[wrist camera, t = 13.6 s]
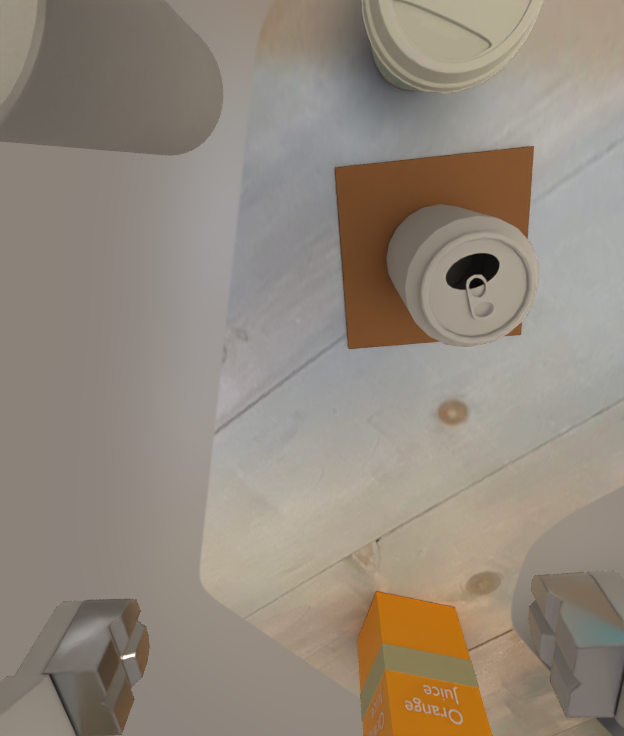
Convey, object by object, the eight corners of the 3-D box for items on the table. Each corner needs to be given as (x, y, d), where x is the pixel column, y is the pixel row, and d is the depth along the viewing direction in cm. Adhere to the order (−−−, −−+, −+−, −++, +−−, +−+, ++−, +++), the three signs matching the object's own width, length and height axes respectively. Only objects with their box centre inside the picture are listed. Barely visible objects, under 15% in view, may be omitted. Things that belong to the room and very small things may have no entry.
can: (471, 188, 35) (538, 196, 24) (493, 284, 38) (562, 332, 27) (372, 224, 36) (392, 248, 25) (400, 315, 39) (429, 373, 28)
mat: (348, 347, 40) (348, 349, 40) (334, 167, 35) (335, 167, 35) (519, 333, 40) (521, 334, 39) (531, 146, 34) (534, 146, 34)
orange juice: (432, 655, 54) (486, 908, 36) (356, 640, 54) (371, 889, 35) (456, 606, 51) (529, 854, 33) (376, 589, 51) (404, 832, 32)
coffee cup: (325, 27, 32) (324, -48, 21) (436, -74, 30) (502, -218, 19) (397, 141, 34) (430, 127, 23) (504, 55, 32) (598, -4, 21)
